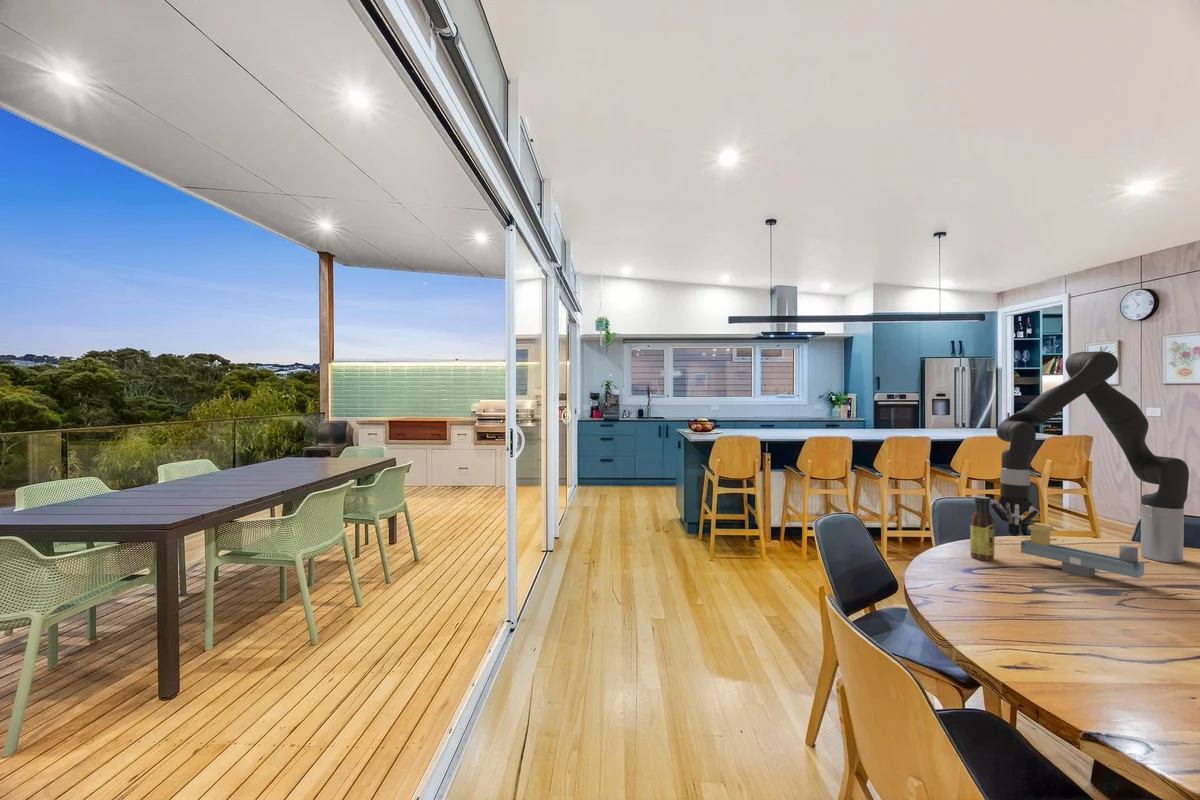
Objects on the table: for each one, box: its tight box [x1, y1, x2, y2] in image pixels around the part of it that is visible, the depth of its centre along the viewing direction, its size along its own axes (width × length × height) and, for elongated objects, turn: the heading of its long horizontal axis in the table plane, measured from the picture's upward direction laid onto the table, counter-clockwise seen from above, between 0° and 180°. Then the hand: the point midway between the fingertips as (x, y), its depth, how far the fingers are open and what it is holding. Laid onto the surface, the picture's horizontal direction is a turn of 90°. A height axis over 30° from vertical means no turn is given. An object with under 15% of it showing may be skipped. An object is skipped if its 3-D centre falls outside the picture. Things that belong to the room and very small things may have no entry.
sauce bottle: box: [969, 495, 995, 561], centre depth 162 cm, size 7×6×20 cm
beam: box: [1020, 538, 1145, 579], centre depth 149 cm, size 26×5×10 cm, turn 31°
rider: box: [1027, 522, 1054, 547], centre depth 157 cm, size 4×6×7 cm, turn 121°
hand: (1014, 535), depth 162 cm, fingers closed
